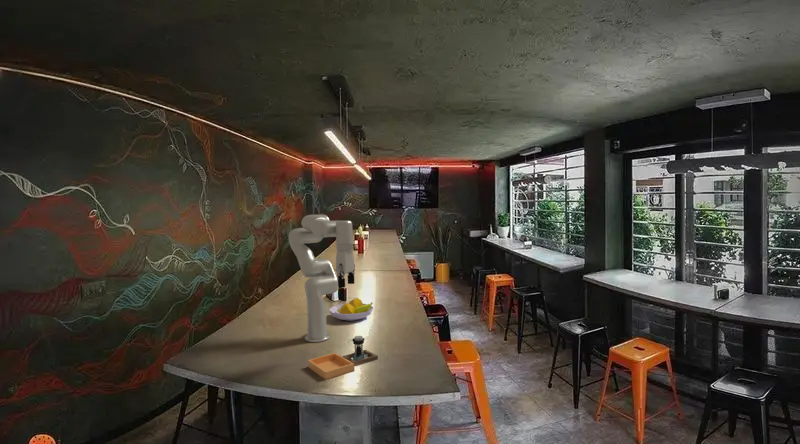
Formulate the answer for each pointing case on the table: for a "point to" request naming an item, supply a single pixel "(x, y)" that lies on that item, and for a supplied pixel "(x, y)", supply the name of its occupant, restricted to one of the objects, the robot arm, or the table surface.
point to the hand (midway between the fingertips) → (346, 285)
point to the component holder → (362, 361)
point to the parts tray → (330, 366)
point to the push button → (358, 348)
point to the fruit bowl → (351, 310)
